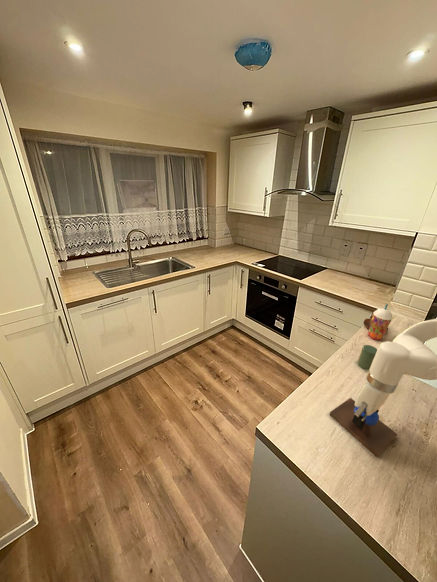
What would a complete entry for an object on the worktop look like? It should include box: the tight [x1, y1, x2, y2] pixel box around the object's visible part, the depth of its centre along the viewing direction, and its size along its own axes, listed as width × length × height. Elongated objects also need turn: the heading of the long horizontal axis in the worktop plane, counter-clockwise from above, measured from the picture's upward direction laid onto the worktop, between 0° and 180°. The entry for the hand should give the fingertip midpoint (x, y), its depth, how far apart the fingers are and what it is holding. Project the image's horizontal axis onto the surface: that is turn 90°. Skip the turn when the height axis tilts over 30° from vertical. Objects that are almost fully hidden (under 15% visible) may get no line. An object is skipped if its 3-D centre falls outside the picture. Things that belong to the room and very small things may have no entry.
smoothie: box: [367, 303, 394, 341], centre depth 121 cm, size 8×8×20 cm
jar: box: [356, 344, 378, 371], centre depth 103 cm, size 6×6×9 cm
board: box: [329, 397, 398, 458], centre depth 78 cm, size 16×12×2 cm
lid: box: [354, 406, 380, 425], centre depth 76 cm, size 7×7×2 cm
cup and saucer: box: [363, 315, 389, 332], centre depth 132 cm, size 12×12×6 cm
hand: (363, 419), depth 77 cm, fingers closed on lid, 6 cm apart
